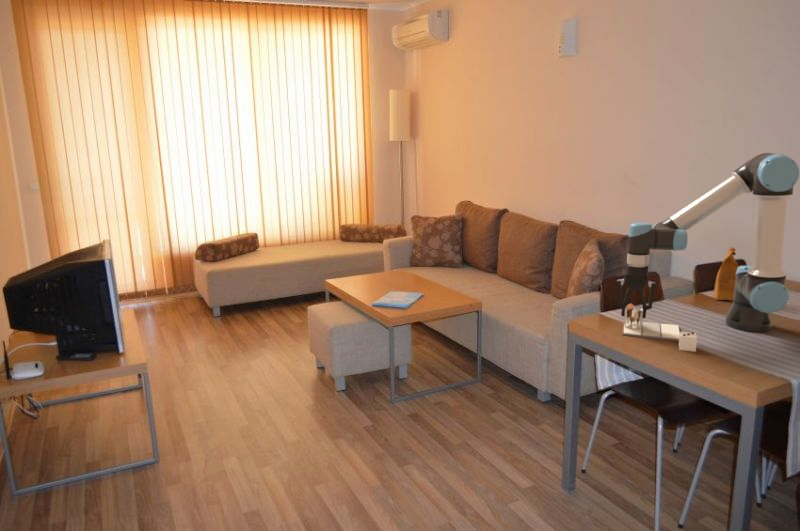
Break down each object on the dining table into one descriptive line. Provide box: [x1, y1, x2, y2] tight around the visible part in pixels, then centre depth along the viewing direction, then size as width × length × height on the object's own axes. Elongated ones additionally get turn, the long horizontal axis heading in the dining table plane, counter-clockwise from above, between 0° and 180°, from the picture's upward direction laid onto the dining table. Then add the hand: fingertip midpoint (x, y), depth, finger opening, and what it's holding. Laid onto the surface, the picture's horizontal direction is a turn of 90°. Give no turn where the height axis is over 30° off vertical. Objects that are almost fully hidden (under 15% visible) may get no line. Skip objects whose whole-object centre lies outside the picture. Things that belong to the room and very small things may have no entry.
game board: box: [622, 319, 681, 342], centre depth 225 cm, size 20×16×1 cm
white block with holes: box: [678, 331, 698, 353], centre depth 207 cm, size 5×5×6 cm
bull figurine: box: [626, 303, 642, 329], centre depth 226 cm, size 4×13×8 cm, turn 168°
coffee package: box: [713, 246, 740, 302], centre depth 263 cm, size 10×12×22 cm
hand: (632, 325), depth 227 cm, fingers closed on bull figurine, 5 cm apart
